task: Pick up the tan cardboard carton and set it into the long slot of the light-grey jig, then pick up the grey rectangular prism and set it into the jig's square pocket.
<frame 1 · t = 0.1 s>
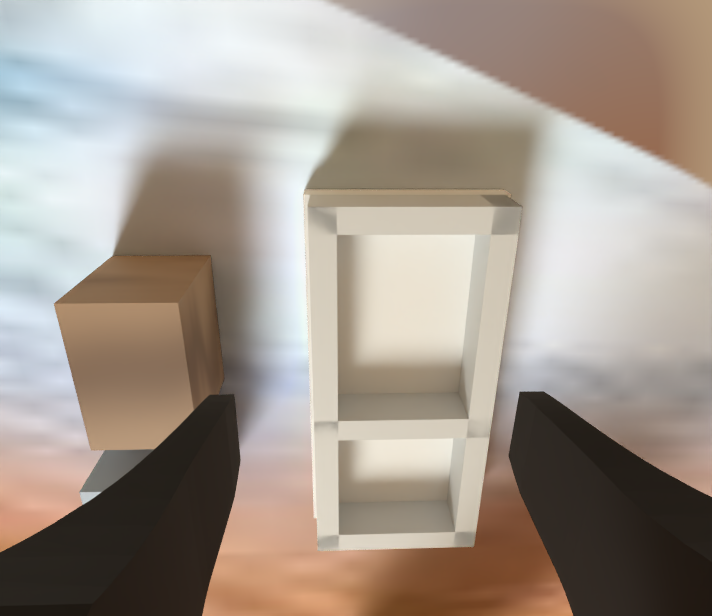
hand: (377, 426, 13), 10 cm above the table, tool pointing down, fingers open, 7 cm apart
tan cardboard carton: (172, 319, 23), on the table
grey rectangular prism: (179, 439, 25), on the table
jig: (396, 367, 24), on the table
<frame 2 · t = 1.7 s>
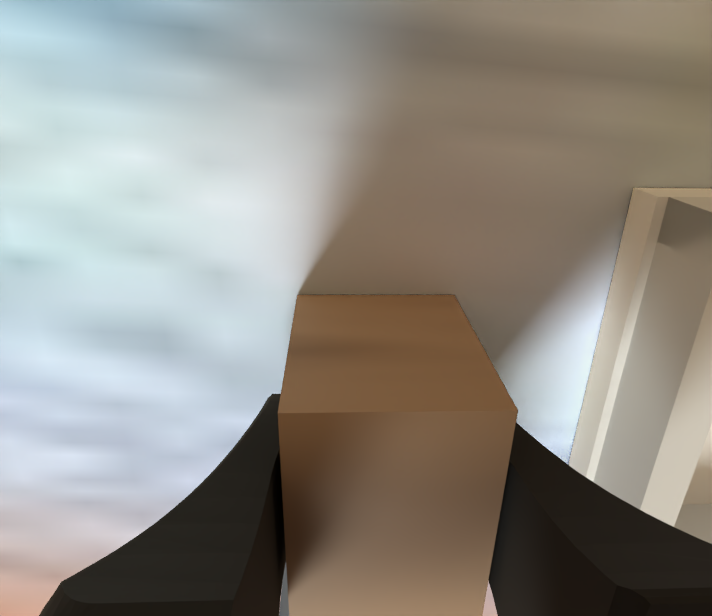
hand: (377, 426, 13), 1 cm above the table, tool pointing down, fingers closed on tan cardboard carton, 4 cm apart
tan cardboard carton: (372, 394, 14), on the table, touching gripper
grey rectangular prism: (352, 559, 17), on the table
jig: (697, 460, 16), on the table
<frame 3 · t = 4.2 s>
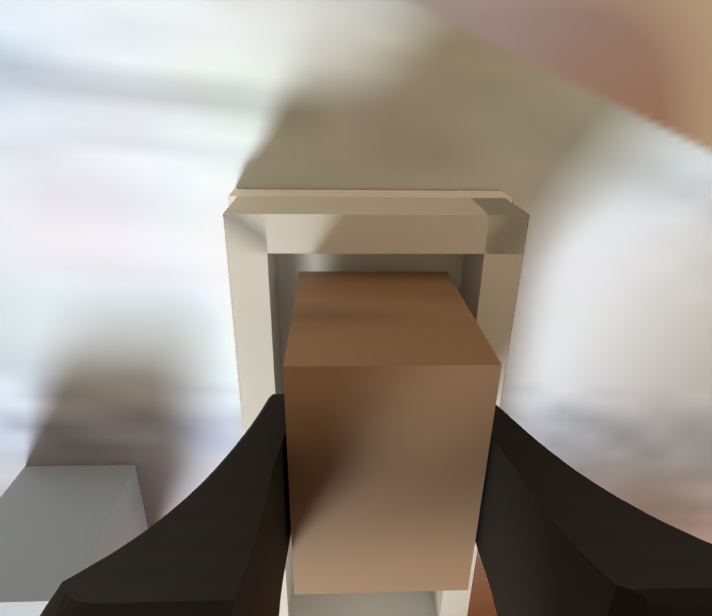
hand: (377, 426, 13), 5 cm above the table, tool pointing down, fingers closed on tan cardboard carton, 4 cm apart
tan cardboard carton: (370, 367, 15), point 2 cm above the table, touching gripper
grey rectangular prism: (91, 505, 20), on the table
jig: (364, 418, 19), on the table
when the fingers open (4 cm above the table, at t = 4.8 s): tan cardboard carton stays where it is, resting on jig.
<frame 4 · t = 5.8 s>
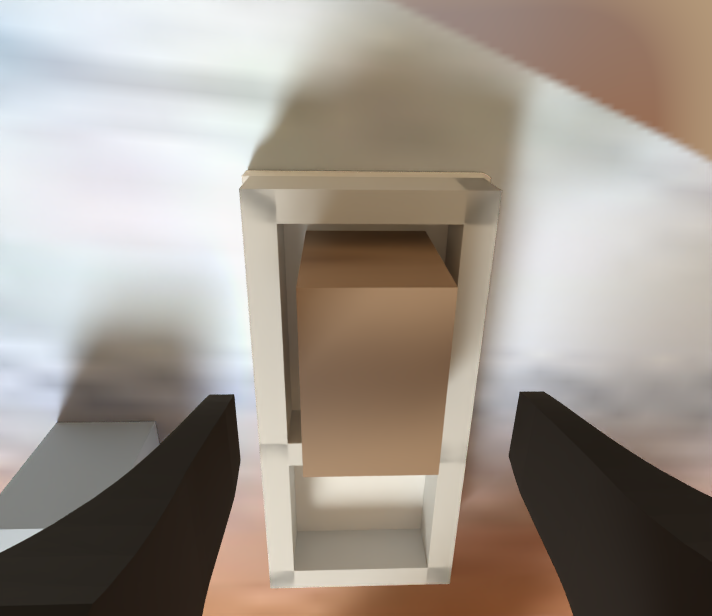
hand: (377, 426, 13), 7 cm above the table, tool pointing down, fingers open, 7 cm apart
tan cardboard carton: (364, 311, 18), point 1 cm above the table, touching jig
grey rectangular prism: (115, 459, 22), on the table
jig: (361, 379, 21), on the table
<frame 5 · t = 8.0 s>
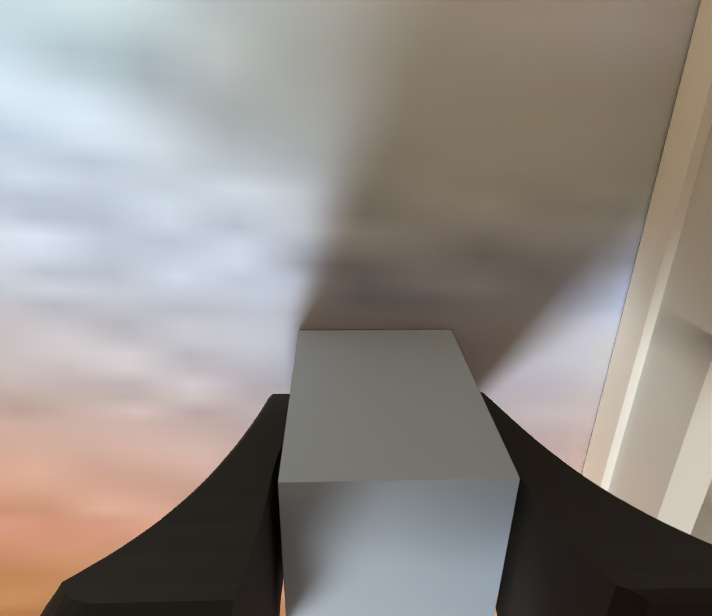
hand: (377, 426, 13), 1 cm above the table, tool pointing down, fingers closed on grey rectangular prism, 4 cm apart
grey rectangular prism: (373, 394, 14), on the table, touching gripper
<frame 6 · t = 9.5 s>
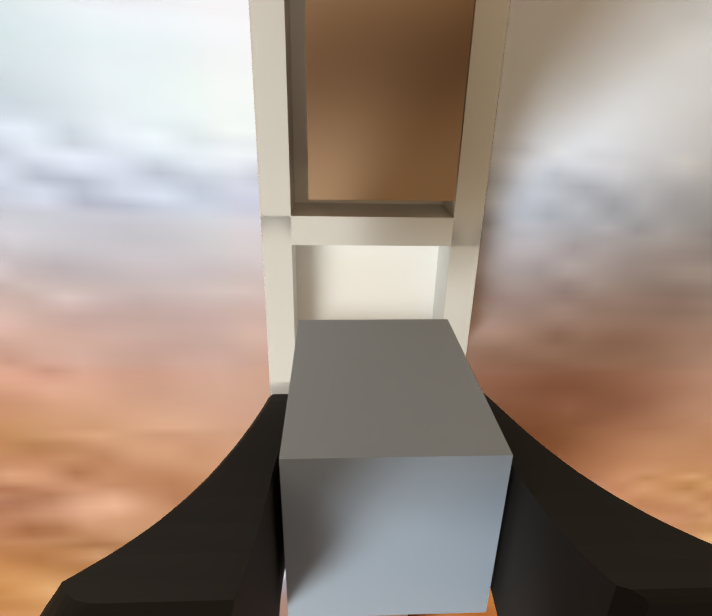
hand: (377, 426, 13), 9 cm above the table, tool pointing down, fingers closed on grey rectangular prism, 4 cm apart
tan cardboard carton: (372, 79, 17), point 1 cm above the table, touching jig
grey rectangular prism: (371, 383, 15), point 8 cm above the table, touching gripper
jig: (368, 178, 20), on the table
when the fingers open (4 cm above the table, at t = 11.0 s): grey rectangular prism drops 1 cm, resting on jig.
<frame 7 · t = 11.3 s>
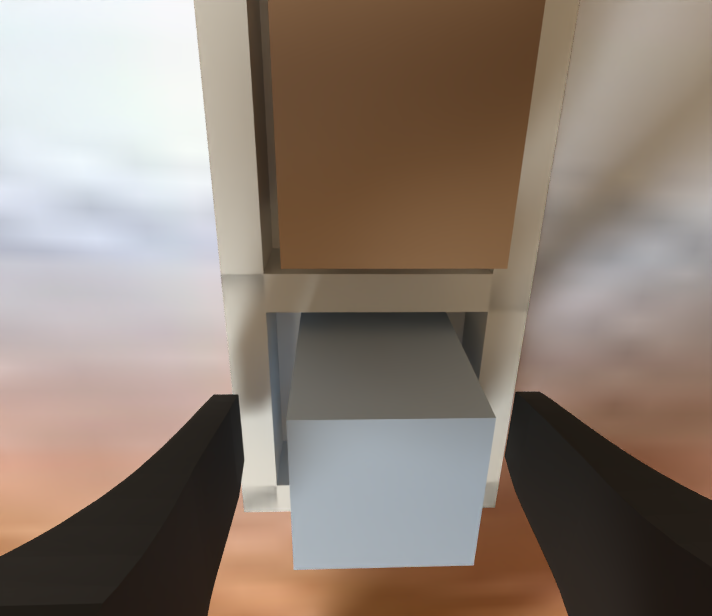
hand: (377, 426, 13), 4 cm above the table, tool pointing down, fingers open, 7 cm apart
tan cardboard carton: (378, 80, 12), point 1 cm above the table, touching jig
grey rectangular prism: (370, 363, 16), point 1 cm above the table, touching jig
jig: (371, 212, 15), on the table
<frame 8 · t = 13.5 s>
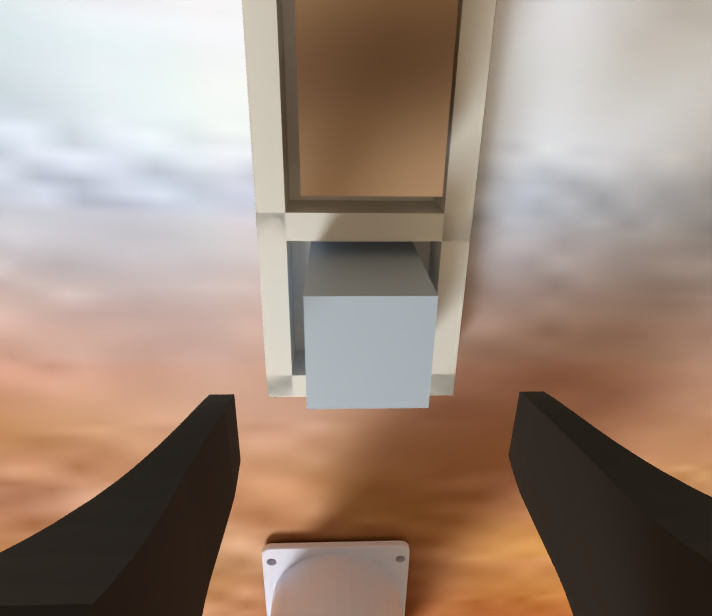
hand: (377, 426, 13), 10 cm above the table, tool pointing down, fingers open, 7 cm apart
tan cardboard carton: (364, 78, 18), point 1 cm above the table, touching jig
grey rectangular prism: (360, 288, 21), point 1 cm above the table, touching jig
jig: (361, 175, 20), on the table
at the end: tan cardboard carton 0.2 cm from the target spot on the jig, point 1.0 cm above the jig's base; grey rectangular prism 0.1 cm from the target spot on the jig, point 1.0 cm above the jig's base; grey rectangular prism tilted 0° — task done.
